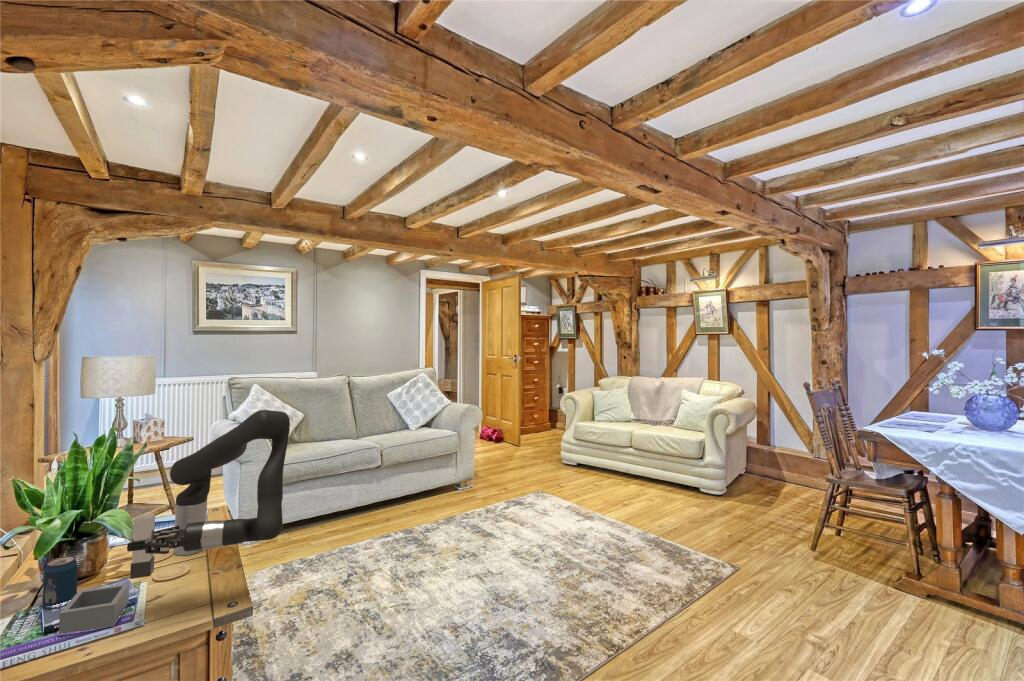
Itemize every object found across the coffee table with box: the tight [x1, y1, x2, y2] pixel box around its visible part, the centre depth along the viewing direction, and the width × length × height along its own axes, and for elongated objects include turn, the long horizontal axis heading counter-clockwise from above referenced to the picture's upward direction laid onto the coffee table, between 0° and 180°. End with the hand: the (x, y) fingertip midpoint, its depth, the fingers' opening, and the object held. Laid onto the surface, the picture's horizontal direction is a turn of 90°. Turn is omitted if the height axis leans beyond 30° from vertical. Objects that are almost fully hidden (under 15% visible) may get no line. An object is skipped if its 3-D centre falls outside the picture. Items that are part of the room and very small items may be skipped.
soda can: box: [41, 555, 79, 607], centre depth 129 cm, size 7×7×12 cm
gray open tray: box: [58, 583, 130, 635], centre depth 122 cm, size 11×11×6 cm
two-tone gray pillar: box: [129, 513, 156, 580], centre depth 125 cm, size 3×4×16 cm
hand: (130, 544), depth 124 cm, fingers closed on two-tone gray pillar, 3 cm apart
